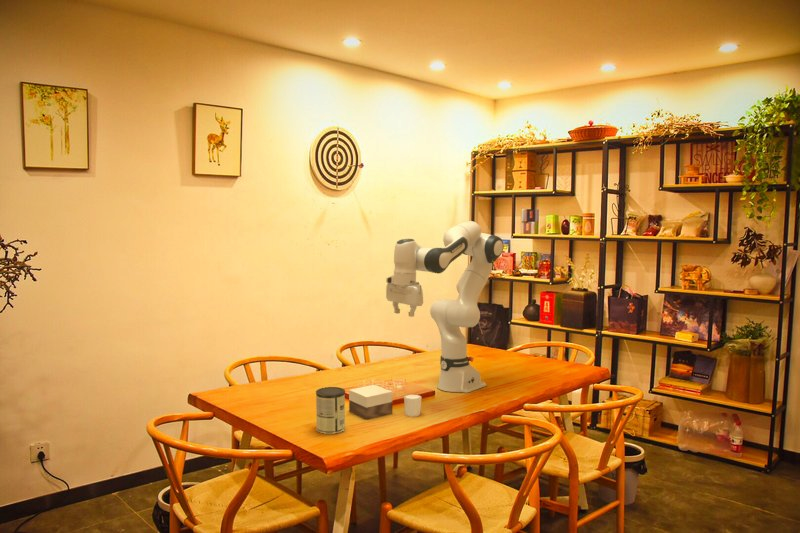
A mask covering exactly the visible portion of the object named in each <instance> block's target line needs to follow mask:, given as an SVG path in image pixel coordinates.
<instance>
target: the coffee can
mask: <svg viewBox="0 0 800 533" xmlns="http://www.w3.org/2000/svg"><path fill="white" fill-rule="evenodd" d="M315 394H316V397H315V398H316V399H315V401H316V402H315V403H316V408H315V409H316V410H315V411H316V432H317V433H319V432H320V433H319V434H322V433H324V435H335V433H337V434H340V433H343V432H344V431H345V429H346V415H345V414H346V406H345V405H346V402H345V401H346V399H345V397H346V395H345V394H346V390H345V388H342V387H337V386H328V387H327V386H326V387H321V388H319V389H316V391H315ZM342 431H343V432H342Z"/></svg>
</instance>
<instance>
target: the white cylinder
mask: <svg viewBox="0 0 800 533" xmlns="http://www.w3.org/2000/svg"><path fill="white" fill-rule="evenodd" d="M403 400H404V401H403V402H404V403H403V404H404V413H405V414H404V415H405V416H406V417H412V418H414V417H415V418H417V417H419V416H420V415H421V408H422V400H423V399H422V396H421V395H419V394H415V393H414V394H412V393H411V394H406V395H404V396H403Z"/></svg>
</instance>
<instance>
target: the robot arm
mask: <svg viewBox="0 0 800 533" xmlns="http://www.w3.org/2000/svg"><path fill="white" fill-rule="evenodd" d="M442 241H443V244H444V247H424V246H422V245H419V243H417V242H416V240H415V239H413V238H403V239H399V240H397V241H396V243H395V246H394V250H393V252H394V253H393V263H394V269H393V275H391V276H388V277H386V279H385V281H386V288H385V292H386V293H385V294H386V295H385V296H386V300H387V301H389V302H392V308H393V309H394V311H393V312H394V314H400V313H401V309H400V307H399V304H403V305H406V306H407V305H408V306H409V308H410V311H408V317H411V318H412V317H415V312H416V311H417V310H416V309H417V307H422V306H423V304H424V293H423V288H422V285H421V283H420V282H419V281H417V271H418V272H426V273H427V272H428V273H433V274H442V273H443V272H445V271H446V270H447V268H448V267H449V265H450V264H451V263H452V262H454V261H455V260H456V259H457V258H459V257H460V256H462V255H466V256H471V257H472V258H471V261H470V262H469V263H468V265H467V266H466V268H465V270H463V273H462V274H461V276H460V278H459V280H458V282H457V283H456V290H457V292H458V297H457V298H456V299H455V300H454V299H448V298H442V299H436V300H434V301H433V302H432V303H431V305H430V310H429V312H430V317H431V318H432V319H433V321H434V323H435V324H436V326H437V328H438V331H439V336H440V340H441V341H440V343H441V346H440V347H441V355H440V362H439V363H440V364H439V365H440V372H439V379H438V384H437V389H438V390H441V391H445V392H450V393H451V392H452V393H470V392H474V391H476V390H479V389H482V388H485V387H487V382H485V381H482V380H481V379H482V376H481V373H480V372H479V370H478V369H476V368H475V367H474V366H472V365H471V364H470V362H474V360H475V358H474V357H473V356H467V354H468V353H467V343H468V342H467V341H468V340H467V338H466V336H465V335H464V333H462V331H461V328H474V327H476V325H478V323H479V322H480V319H481V312H480V309H479V306H478V303H479V302H478V301H479V297H480V295H481V293H482V292H483V289H484V288H485V286H486V284H487V282H488V280H489V278H490V275H491V273H492V269H493V263H495V262H496V261H497V260H498V259H499V258H500V256H501V255H502V253H503V251H504V241H503V239H502V238H501V237H500V236H498V235H495V234H489V233H484V232H482V230H481V226H480V225H479V223H477V222H475V221H474V220H473V221H472V220H470V221H468V220H467V221H464V222H461V223H458V224H456V225H454V226H452V227H450V228H449V229H447V230H446V231H445V232H444V234H443V239H442Z"/></svg>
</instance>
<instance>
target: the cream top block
mask: <svg viewBox="0 0 800 533" xmlns="http://www.w3.org/2000/svg"><path fill="white" fill-rule="evenodd" d="M348 400H350V401H353V402H355V403H357V404H359V405H362V406H364V407H366V408H367V407H372V406H376V405H381V404H385V403H389V402H392V403H393V391H392V390H388V389H386V388H384V387H381V386H379V385H376V384H372V385H366V386H362V387H356V388H352V389H351V388H350V389H348Z"/></svg>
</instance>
